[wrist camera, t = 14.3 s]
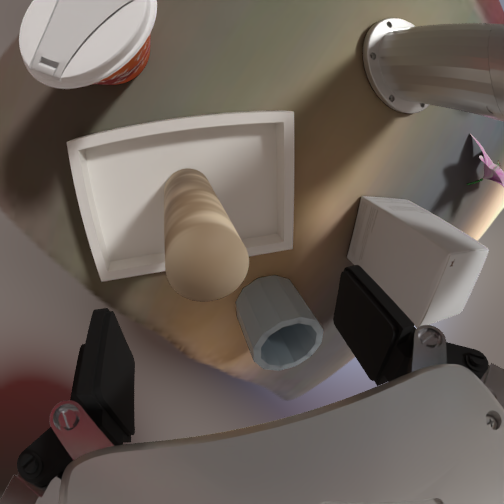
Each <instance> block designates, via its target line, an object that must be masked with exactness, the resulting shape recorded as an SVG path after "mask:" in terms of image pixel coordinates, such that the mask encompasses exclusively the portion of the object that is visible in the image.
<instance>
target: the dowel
mask: <svg viewBox="0 0 504 504" xmlns="http://www.w3.org/2000/svg"><path fill="white" fill-rule="evenodd" d="M164 247H165V271H166V276H167V279H168V282H169V284H170V285H171V287H172V288H173V289H174V290H175V291H176V292H177V293H178V294H180V295H181V296H183V297H185V298H187V299H190V300H194V301H201V302H207V301H214V300H218V299H221V298H223V297H225V296H227V295H229V294H231V293H232V292H233V291H235V290H236V289H237V288H238V287H239V286H240V285H241V283H242V282H243V280H244V279H245V277H246V275H247V272H248V268H249V256H248V252H247V249H246V247H245V245H244V244H243V242H242V240H241V238H240V236H239V235H238V233H237V231H236V229H235V228H234V226H233V224H232V222H231V220H230V219H229V217H228V215H227V213H226V211H225V210H224V208H223V206H222V204H221V203H220V201H219V199H218V197H217V195H216V194H215V192H214V190H213V188H212V186H211V185H210V183H209V181H208V179H207V178H206V176H205V175H204V174H203V173H201V172H200V171H198V170H195V169H191V168H186V169H181V170H178V171H176V172H175V173H173V174H172V175H171V176H170V177H169V178H168V180H167V182H166V184H165V188H164Z"/></svg>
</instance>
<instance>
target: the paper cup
mask: <svg viewBox="0 0 504 504" xmlns="http://www.w3.org/2000/svg"><path fill="white" fill-rule="evenodd" d="M156 12H157V1H156V0H33V2H32V3H31V4H30V6H29V8H28V10H27V11H26V14H25V16H24V18H23V21H22V24H21V28H20V35H19V46H20V51H21V55H22V57H23V61H24V64H25V66H26V68H27V70H28V71H29V72H30V74H31V75H32V76H33V77H34V78H35V79H37V80H38V81H39V82H41V83H43V84H45V85H47V86H50V87H54V88H61V89H72V88H79V87H84V86H88V85H91V84H102V85H117V84H122V83H126V82H128V81H130V80H132V79H134V78H135V77H136V76H138V75H139V74H140V73H141V72H142V70H143V69H144V68H145V66H146V64H147V62H148V59H149V54H150V32H151V30H152V28H153V25H154V22H155V18H156Z"/></svg>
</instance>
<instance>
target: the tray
mask: <svg viewBox="0 0 504 504" xmlns="http://www.w3.org/2000/svg"><path fill="white" fill-rule="evenodd" d="M67 149H68V155H69V160H70V166H71V171H72V176H73V181H74V186H75V191H76V195H77V199H78V204H79V208H80V212H81V216H82V220H83V223H84V227H85V231H86V234H87V238H88V241H89V245H90V248H91V251H92V254H93V258H94V261H95V264H96V267H97V270H98V273H99V276H100V279H101V282H103V281H109V280H115V279H121V278H127V277H133V276H139V275H144V274H150V273H156V272H162V271H165V247H164V188H165V184H166V182H167V180H168V178H169V177H170V176H171V175H172V174H173V173H175V172H176V171H178V170H181V169H186V168H191V169H195V170H198V171H200V172H201V173H203V174H204V175H205V176H206V178H207V179H208V181H209V183H210V185H211V186H212V188H213V190H214V192H215V194H216V195H217V197H218V199H219V201H220V203H221V204H222V206H223V208H224V210H225V211H226V213H227V215H228V217H229V219H230V220H231V222H232V224H233V226H234V228H235V229H236V231H237V233H238V235H239V236H240V238H241V240H242V242H243V244H244V245H245V247H246V249H247V252H248V256H255V255H260V254H266V253H272V252H278V251H283V250H289V249H293V224H294V111H284V110H273V111H246V112H230V113H217V114H206V115H197V116H188V117H180V118H173V119H166V120H159V121H153V122H147V123H141V124H136V125H130V126H125V127H120V128H116V129H111V130H106V131H102V132H98V133H94V134H89V135H86V136H82V137H78V138H75V139H72V140H70V141H68V142H67Z"/></svg>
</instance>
